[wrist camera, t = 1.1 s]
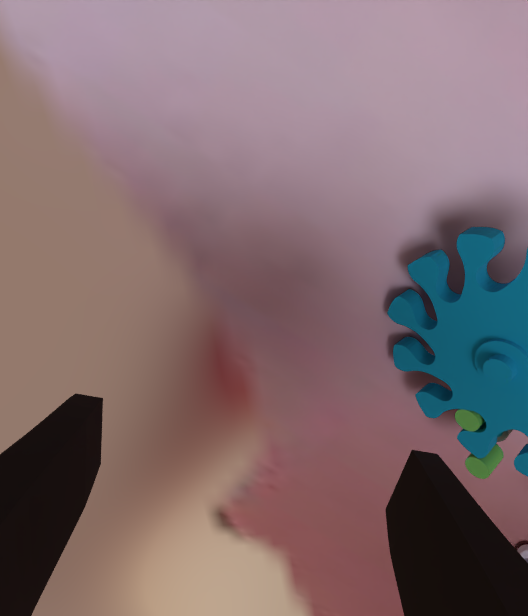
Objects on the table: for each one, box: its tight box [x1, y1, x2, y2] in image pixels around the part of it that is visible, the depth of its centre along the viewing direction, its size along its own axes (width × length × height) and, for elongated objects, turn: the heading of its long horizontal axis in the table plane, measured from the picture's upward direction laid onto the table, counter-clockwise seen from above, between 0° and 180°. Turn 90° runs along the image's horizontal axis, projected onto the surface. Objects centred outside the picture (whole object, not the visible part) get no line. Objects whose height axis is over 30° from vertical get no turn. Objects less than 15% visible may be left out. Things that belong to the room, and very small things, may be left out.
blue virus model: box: [387, 227, 528, 479], centre depth 19 cm, size 11×6×10 cm
